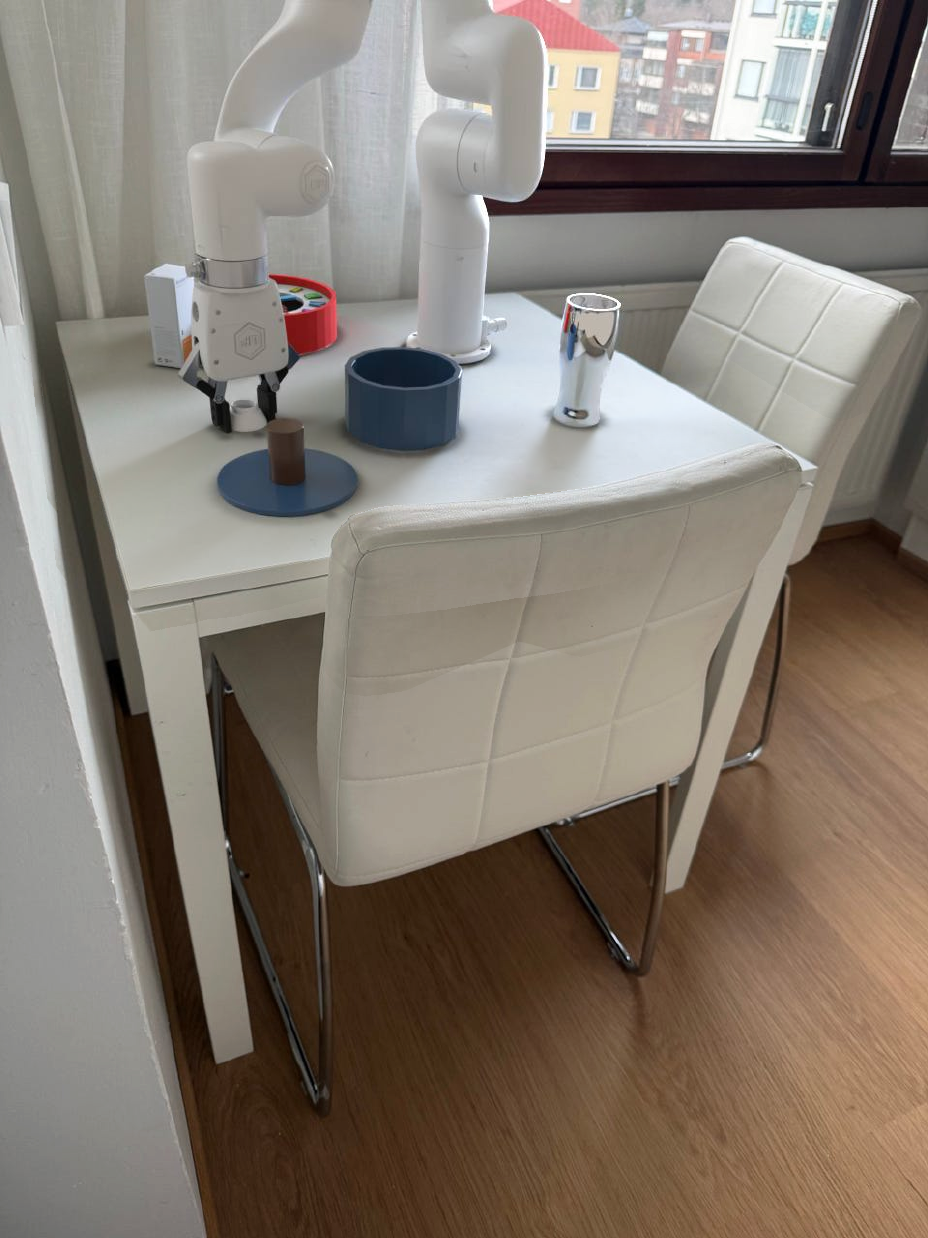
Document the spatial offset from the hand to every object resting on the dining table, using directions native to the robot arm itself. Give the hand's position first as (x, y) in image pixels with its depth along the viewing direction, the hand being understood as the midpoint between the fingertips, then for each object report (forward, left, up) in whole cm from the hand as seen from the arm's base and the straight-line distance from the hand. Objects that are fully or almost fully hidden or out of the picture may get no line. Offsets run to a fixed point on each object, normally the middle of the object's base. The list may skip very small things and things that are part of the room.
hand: (245, 423), depth 110 cm
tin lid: (+3, +16, 0) cm, 16 cm away
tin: (-16, +10, 0) cm, 19 cm away
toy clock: (-18, -28, -1) cm, 33 cm away
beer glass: (-38, +18, -1) cm, 42 cm away
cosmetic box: (-2, -24, -1) cm, 24 cm away
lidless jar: (0, 0, -1) cm, 1 cm away
